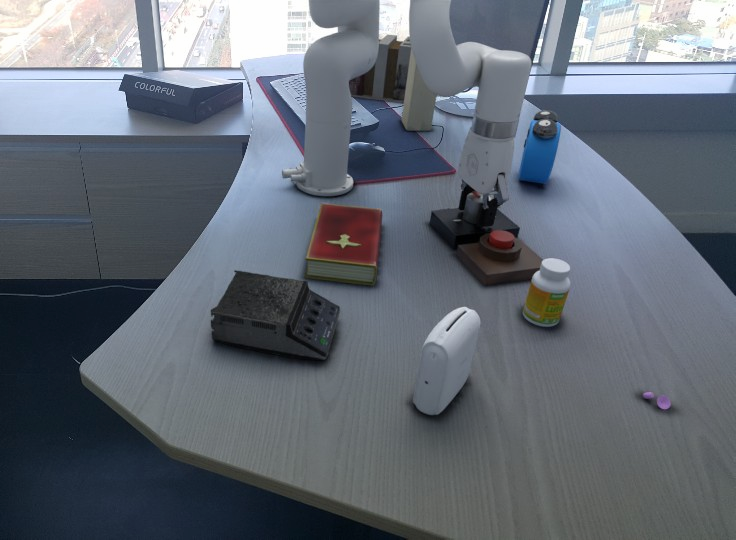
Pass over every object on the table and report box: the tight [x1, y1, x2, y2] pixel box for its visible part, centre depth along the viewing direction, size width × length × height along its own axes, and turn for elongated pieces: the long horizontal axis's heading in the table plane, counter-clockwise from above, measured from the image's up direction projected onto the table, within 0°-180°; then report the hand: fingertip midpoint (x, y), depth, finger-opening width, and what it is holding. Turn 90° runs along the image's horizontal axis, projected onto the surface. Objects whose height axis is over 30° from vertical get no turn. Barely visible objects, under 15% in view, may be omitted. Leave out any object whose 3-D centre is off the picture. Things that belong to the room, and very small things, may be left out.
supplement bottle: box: [522, 257, 572, 328], centre depth 97 cm, size 5×5×10 cm
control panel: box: [428, 207, 521, 250], centre depth 122 cm, size 13×10×3 cm
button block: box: [455, 233, 544, 286], centre depth 111 cm, size 12×10×4 cm
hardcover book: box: [304, 202, 383, 287], centre depth 116 cm, size 12×21×4 cm, turn 168°
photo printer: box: [412, 306, 482, 416], centre depth 82 cm, size 10×4×12 cm, turn 140°
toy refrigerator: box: [401, 48, 438, 132], centre depth 166 cm, size 8×7×21 cm
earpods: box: [642, 391, 672, 410], centre depth 84 cm, size 3×2×2 cm
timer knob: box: [463, 191, 493, 224], centre depth 120 cm, size 4×4×5 cm
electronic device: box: [210, 269, 341, 361], centre depth 95 cm, size 12×17×6 cm
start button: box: [489, 230, 514, 249], centre depth 111 cm, size 4×4×2 cm
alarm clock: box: [517, 108, 562, 189], centre depth 139 cm, size 13×6×15 cm, turn 158°
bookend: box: [349, 34, 411, 104], centre depth 193 cm, size 16×25×16 cm, turn 68°
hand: (475, 216), depth 121 cm, fingers open, 6 cm apart
